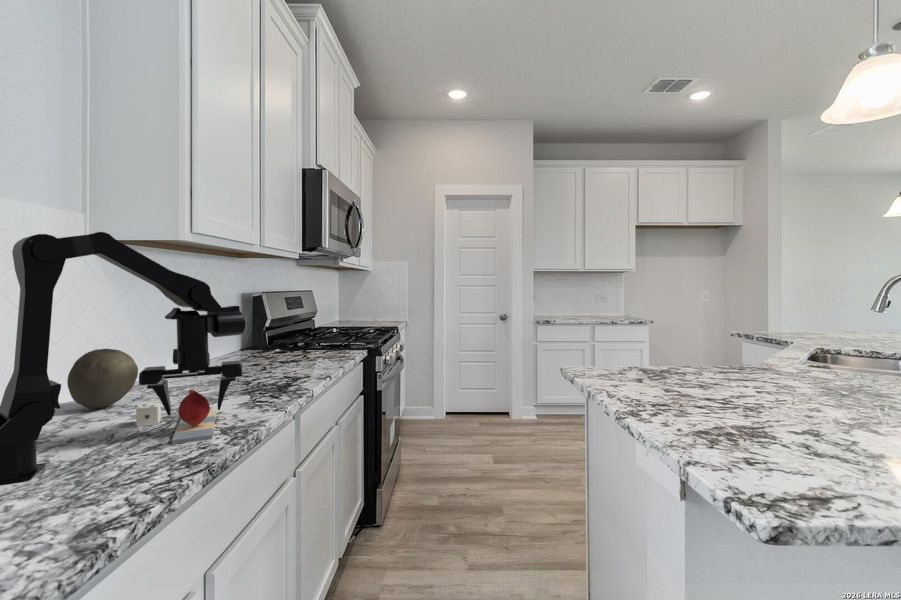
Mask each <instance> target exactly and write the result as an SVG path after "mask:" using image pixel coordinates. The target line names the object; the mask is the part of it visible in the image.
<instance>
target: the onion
mask: <svg viewBox="0 0 901 600" xmlns="http://www.w3.org/2000/svg"><path fill="white" fill-rule="evenodd" d="M210 409H211V405H210V402H209V400H208V399H207V398H206V397H205V396H204V395H203V394H201V393H199V392H197V391H195V389H189V390H188V395H186V396H185V397H183V399H182V400H181V402H180V403H179V406H178V411H177V412H178V417H179V418H180V420H181V419H182V420H183V421H184V422H186V423H188V424H190V425H191V426H192V427H196V426H198V425H199V424H200V423H201V422H202V421H203V420H205V418H206V417H207V416H208V413H209V411H210Z"/></svg>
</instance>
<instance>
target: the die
mask: <svg viewBox="0 0 901 600" xmlns="http://www.w3.org/2000/svg"><path fill="white" fill-rule="evenodd" d="M135 411H136V412H135V414H136V427H145V426H153V425H159V423H160V421H161V420H162V419H161V412H162V411H161V402H154V403H145V404H142V403H141V404H139V405H138V406H137V407H136V409H135Z"/></svg>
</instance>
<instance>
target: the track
mask: <svg viewBox="0 0 901 600" xmlns="http://www.w3.org/2000/svg"><path fill="white" fill-rule="evenodd" d="M216 418H217V410H211V411H209V413H208V416H207V417H206V418H205V420H203V421H202V422H201V423H200V424H199V425H198V426H196V427H192V426H191V425H190V424H188V423H186V422H184V421H183V420H182V419H181V418H180V420H179V423H178V425H177V427H176V429H175V432H174V434H173V435H172V439H171V445H176V444H178V445H179V444H184V443H191V442H198V441H209V440H212V439H213V436H214V431H215V423H216Z"/></svg>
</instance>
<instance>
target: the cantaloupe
mask: <svg viewBox="0 0 901 600" xmlns="http://www.w3.org/2000/svg"><path fill="white" fill-rule="evenodd" d="M138 377H139V368H138V364H137V363H136V362H135V360H134V359H133V357H132V356H130V355H129V354H128V353H126V352H124V351H122V350H120V349H112V348H99V349H93V350H91V351H88V352H85V353H84V354H83V355H81V356H79V358H78V359H76V361H74V363H73V365H72V367H71V369H70V371H69V373H68V375H67V382H66V383H67V389H68V391H69V394H70V397H71V398H72V400H73V401H74V402H75V403H77V405H80V406H82V407H85V408H88V409H93V410H94V409H96V410H97V409H101V408H105V407H108V406H112V405H113V404H116V403H117V402H120V401H121V399H122V398H124V397H125V396H126V395H127V394H128V393H129V392H130V391H131V390H132V389H133V387H134V386H135V384H136V381H137V378H138Z"/></svg>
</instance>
